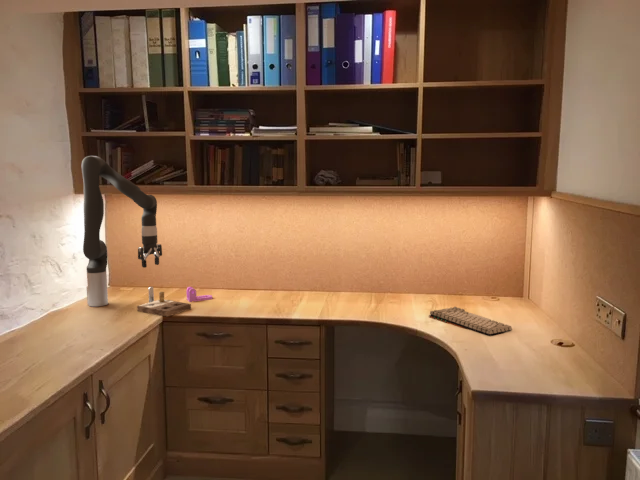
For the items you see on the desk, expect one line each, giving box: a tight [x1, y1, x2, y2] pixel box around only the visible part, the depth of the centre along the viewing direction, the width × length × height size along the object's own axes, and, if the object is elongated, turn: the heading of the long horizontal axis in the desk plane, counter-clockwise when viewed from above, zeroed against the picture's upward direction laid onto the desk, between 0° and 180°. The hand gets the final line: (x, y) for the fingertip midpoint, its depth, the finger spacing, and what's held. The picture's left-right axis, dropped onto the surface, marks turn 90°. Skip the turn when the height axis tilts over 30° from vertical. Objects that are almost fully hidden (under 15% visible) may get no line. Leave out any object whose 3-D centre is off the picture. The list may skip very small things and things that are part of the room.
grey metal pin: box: [148, 286, 155, 303], centre depth 275 cm, size 2×2×9 cm
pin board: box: [136, 291, 192, 317], centre depth 264 cm, size 20×16×8 cm
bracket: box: [186, 286, 213, 303], centre depth 285 cm, size 13×6×7 cm, turn 118°
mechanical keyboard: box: [428, 306, 513, 337], centre depth 243 cm, size 38×19×3 cm, turn 33°
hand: (150, 266), depth 272 cm, fingers open, 8 cm apart
